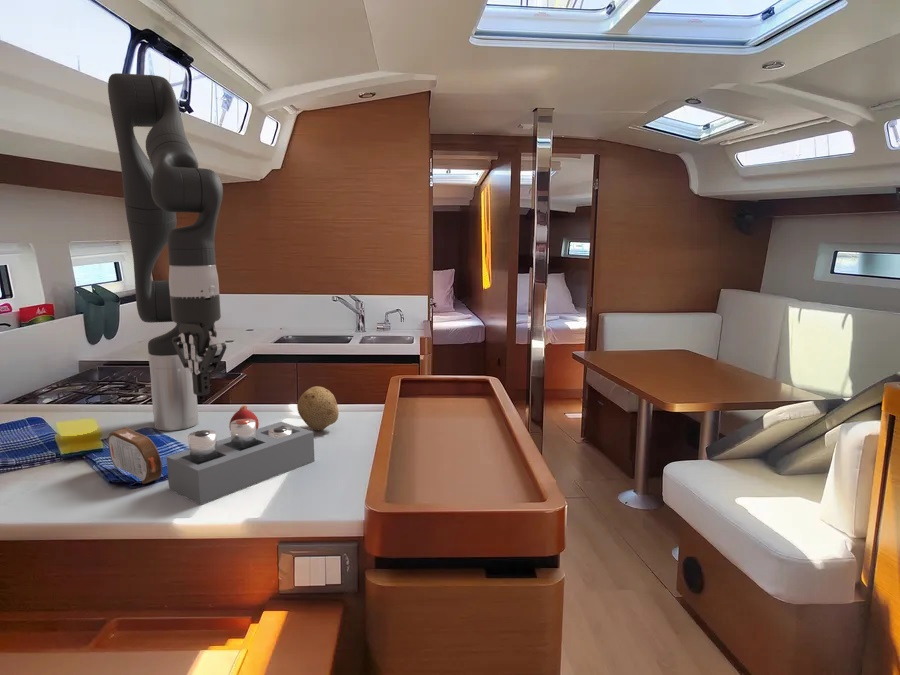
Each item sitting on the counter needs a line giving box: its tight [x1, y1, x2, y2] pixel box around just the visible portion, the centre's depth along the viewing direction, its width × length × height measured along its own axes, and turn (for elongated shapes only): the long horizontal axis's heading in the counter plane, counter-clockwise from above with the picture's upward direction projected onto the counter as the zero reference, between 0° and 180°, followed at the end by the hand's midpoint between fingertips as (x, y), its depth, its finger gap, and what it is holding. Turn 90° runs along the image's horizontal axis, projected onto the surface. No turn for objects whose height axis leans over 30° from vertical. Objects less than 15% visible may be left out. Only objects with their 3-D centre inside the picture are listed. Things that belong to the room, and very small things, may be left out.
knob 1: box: [187, 429, 218, 461], centre depth 103 cm, size 4×4×4 cm
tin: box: [107, 427, 163, 485], centre depth 109 cm, size 15×3×8 cm, turn 53°
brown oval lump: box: [296, 385, 340, 431], centre depth 135 cm, size 9×9×10 cm
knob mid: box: [229, 419, 257, 448], centre depth 110 cm, size 4×4×4 cm
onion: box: [229, 404, 260, 432], centre depth 127 cm, size 6×6×8 cm
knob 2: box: [268, 427, 292, 439], centre depth 117 cm, size 4×4×4 cm
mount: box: [165, 421, 315, 506], centre depth 111 cm, size 10×24×6 cm, turn 143°
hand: (202, 394), depth 102 cm, fingers closed
